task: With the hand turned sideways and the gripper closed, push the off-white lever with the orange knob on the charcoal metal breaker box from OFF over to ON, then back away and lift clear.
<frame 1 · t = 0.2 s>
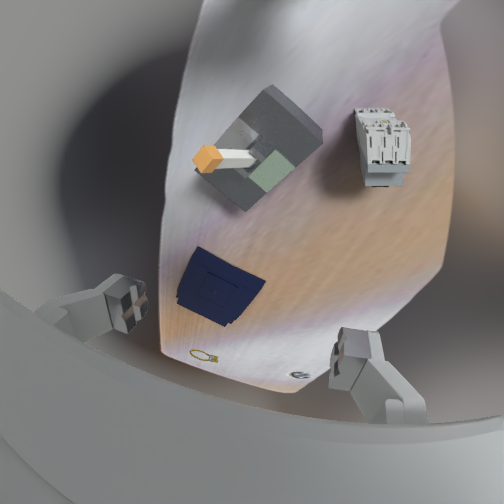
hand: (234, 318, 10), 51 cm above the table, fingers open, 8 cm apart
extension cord: (204, 354, 136), on the table
breaker box: (263, 140, 56), on the table
dark blue panel: (216, 287, 94), on the table
circuit breaker: (373, 140, 50), on the table
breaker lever: (231, 158, 43), point 17 cm above the table, hinge at -30.0°
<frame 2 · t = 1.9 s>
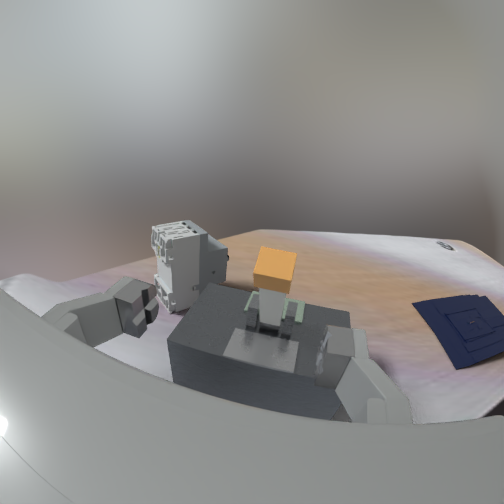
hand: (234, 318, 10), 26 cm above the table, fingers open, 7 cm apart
breaker box: (260, 374, 38), on the table
dark blue panel: (469, 331, 49), on the table
circuit breaker: (193, 295, 56), on the table
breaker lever: (273, 298, 29), point 17 cm above the table, hinge at -30.0°
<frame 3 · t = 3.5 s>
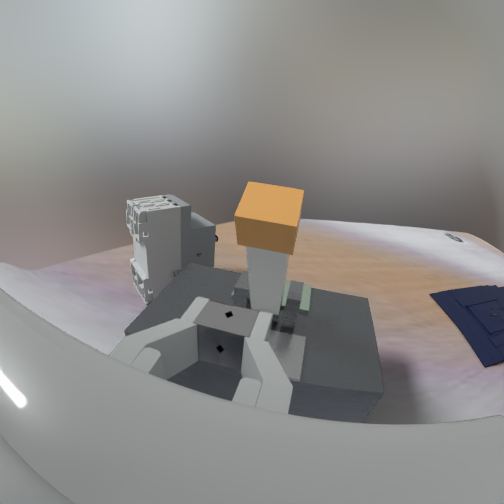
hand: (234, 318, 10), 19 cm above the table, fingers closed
breaker box: (254, 380, 29), on the table
dark blue panel: (491, 324, 40), on the table
circuit breaker: (176, 283, 47), on the table
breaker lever: (268, 271, 20), point 17 cm above the table, hinge at -30.0°
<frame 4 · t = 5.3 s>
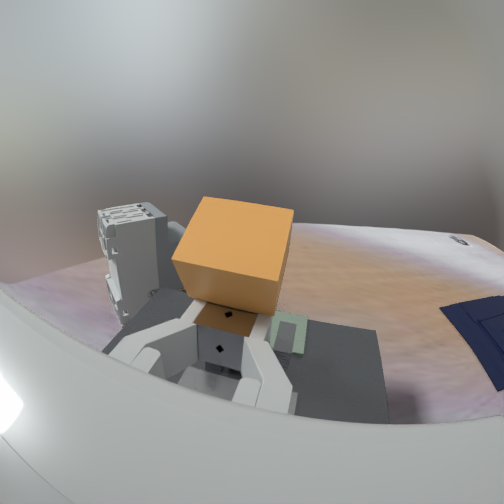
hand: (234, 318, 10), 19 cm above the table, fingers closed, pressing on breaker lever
breaker box: (239, 423, 23), on the table
dark blue panel: (503, 339, 35), on the table
circuit breaker: (157, 302, 41), on the table
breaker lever: (245, 320, 14), point 17 cm above the table, hinge at -28.6°, touching gripper
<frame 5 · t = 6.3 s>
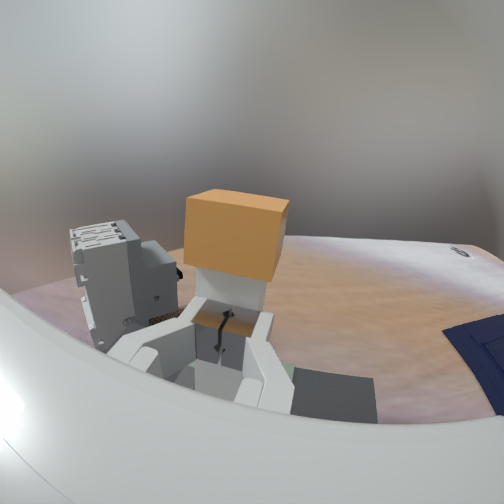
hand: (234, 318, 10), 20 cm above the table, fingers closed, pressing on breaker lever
breaker box: (218, 469, 19), on the table
circuit breaker: (136, 327, 36), on the table
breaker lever: (227, 347, 12), point 17 cm above the table, hinge at 4.0°, touching gripper
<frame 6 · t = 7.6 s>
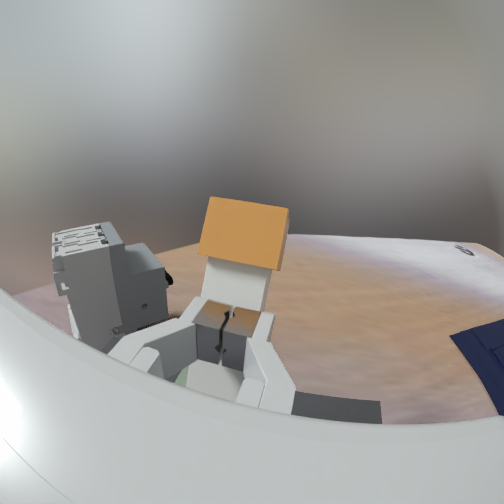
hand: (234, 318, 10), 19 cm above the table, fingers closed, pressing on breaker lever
breaker box: (210, 491, 16), on the table
circuit breaker: (125, 335, 33), on the table
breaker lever: (223, 359, 12), point 17 cm above the table, hinge at 28.6°, touching gripper
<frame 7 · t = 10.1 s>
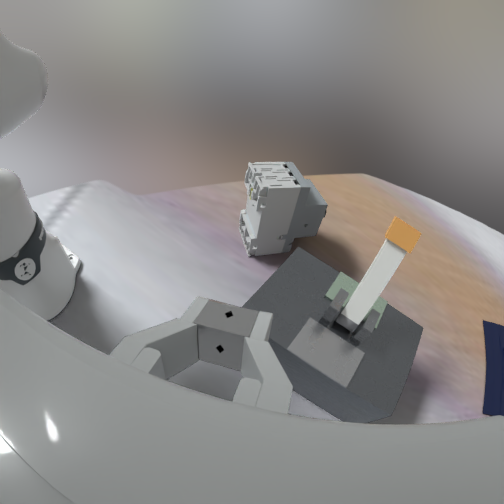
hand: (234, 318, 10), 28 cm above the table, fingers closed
breaker box: (317, 353, 38), on the table
circuit breaker: (278, 238, 54), on the table
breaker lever: (376, 278, 27), point 17 cm above the table, hinge at 28.9°
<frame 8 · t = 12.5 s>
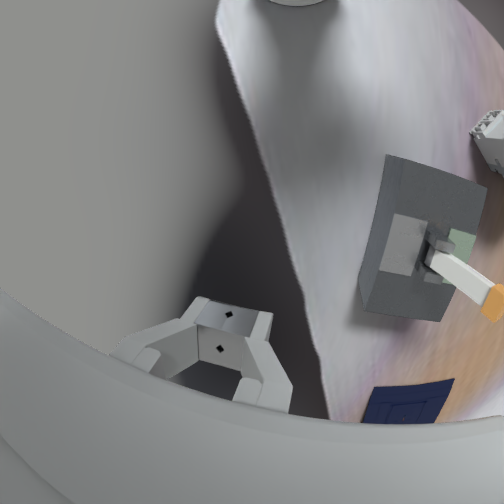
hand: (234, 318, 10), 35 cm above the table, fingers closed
breaker box: (410, 228, 40), on the table
dark blue panel: (401, 413, 58), on the table
circuit breaker: (498, 154, 30), on the table
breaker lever: (465, 277, 25), point 17 cm above the table, hinge at 28.9°
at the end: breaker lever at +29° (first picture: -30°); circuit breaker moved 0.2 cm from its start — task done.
